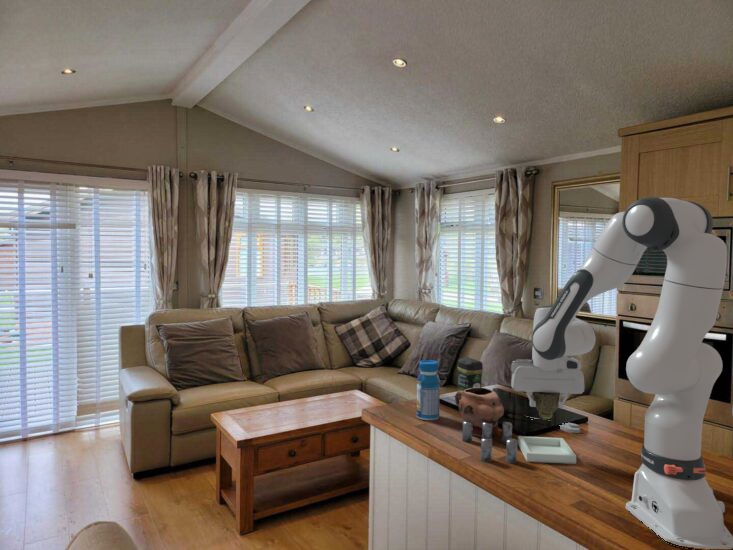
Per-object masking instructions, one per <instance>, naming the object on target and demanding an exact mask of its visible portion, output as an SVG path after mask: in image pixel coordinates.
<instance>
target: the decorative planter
mask: <svg viewBox="0 0 733 550" xmlns="http://www.w3.org/2000/svg"><path fill="white" fill-rule="evenodd" d="M460 396H462V398H461V400H460V402H459V398H460ZM454 398H455V404H456V405H457V406H458V411H459V413H460V415H461V417H462V422H463V421H464V420H469V421H472V422H473V430H472V436H477V437H482V422H483V421H489V422H492V437H493V436H496V435H497V433H498V430H499V419H501V418H502V417H503V416H504V413H505V408H504V406H503V404H502V403H501V402H502V401H501V399H500V397H499V395H498V392H495V391H493V390H492V389H488V388H485V387H482V388H469V389H465V390H464V391H458V390H457V391H456V393H455V396H454Z"/></svg>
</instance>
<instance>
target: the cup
mask: <svg viewBox="0 0 733 550" xmlns="http://www.w3.org/2000/svg"><path fill="white" fill-rule="evenodd" d="M532 395H533V399H534V400H535V402H536V407H535V409H536V410H537V412H538V415H539V417H540V418H541V419H544V420H549V419H551V418H552V417H553V413H555V412H556V411H557V409H558V403H559V400H560V397H561V396H560V395H561V393H549V392H532Z"/></svg>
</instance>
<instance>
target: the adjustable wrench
mask: <svg viewBox="0 0 733 550" xmlns="http://www.w3.org/2000/svg"><path fill="white" fill-rule="evenodd" d="M525 416H526V415H525ZM526 417H528V416H526ZM529 417H530V418H534V419H539V418H537V417H531V416H529ZM531 420H533V419H531ZM559 426H560V429H559V430H561V431H564V432H566V433H571V434H580V433H581V428H580V425H579V424H576V423H574V422H573V423H572V422H568V423H565V424H564V423H562V425H559Z"/></svg>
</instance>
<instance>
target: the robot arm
mask: <svg viewBox="0 0 733 550" xmlns="http://www.w3.org/2000/svg"><path fill="white" fill-rule="evenodd" d="M713 219H714V218H713V215H712V214H711V212H710V211H709V210H708V209H707V208H706V207H705V206H703V205H702V204H699V203H697V202H694V201H686V200H683V199H682V200H681V199H678V198H674V197H656V196H650V197H643V198H640V199H637V200H635V201H634V202H632V203H631V204H630V205H629V206H627V208H626V209H625V211H620V212H617V213H615V214H614V215H613V216H612V217H610V219H609V220H608V222H607V223H606V224H605V226H604V227H603V228H602V231H601V232H600V233H599V235H598V237H597V238H596V241H595V243H594V244H593V247H592V249H591V250H590V253H589V254H588V256H587V258H585V260H584V262H583V263H582V265H581V266H580V267H579V268H578V269H577V271H575V272H574V273H573V274H572V275H571V277H570V278H569V279H568V281H567V282H566V284H564V287H563V288H562V290H561V291H560V293H559V295H558V296H557V298H556V300H555V301H554V303H553V304H552V305H543V306H540V307H538V308H536V309H535V313H534V314H533V315H534V316H533V325H532V334H531V344H532V351H531V352H532V355H531V356H532V357H531V359H527V358H526V359H522V358H517V359H516V360H513V361H512V362H511V364H510V371H511V373H512V374H511V379H510V381H511V382H510V386H511V388H512V390H514V391H515V392H525V394H526V396H527V398H528V400H529V406H530V407H531V408H532V407H533V408H536V402H535V400H534V398H532V396H533V392H549V393H560V395H561V396H560V397H561V398H559V403H558V407H557V409H564V405H565V402H566V401H567V399H568V398H569V394H571V395H572V394H573V395H574V394H575V395H578V394H579V395H582V394H583V392H585V376H584V373H583V371H582V370H581V369H582V363H581V362H580V361H579V360H578V359H576V358H575V357H573V356H579V355H585V354H588V353H590V352H592V351H593V349H594V348H595V345H596V343H597V334H596V331H595V328H594V327H593V326H592V325H591V324H590V322H588V321H586V320H582V319H580V318H577V315H578V314H579V312H580V310H581V309H582V307H583V306H584V305H585V304H586V303H587V302H588V301H590V300H591V299H593V298H595V297H597V296H599V295H601V294H604V293H607V292H610V291H612V290H615V289H617V288H620V287H622V286H623V285H624V284H625V283H626V282H627V281H628V280H629V279H630V277H632V275H633V273H634V272H635V271H636V269H637V266H638V265H639V262H640V261H641V258H642V257H643V254H644V253H645V251H646V250H647V249H648V248H649V249H650V250H652V251H653V252H656V253H657V252H662V251H663V252H664V254H665V256H666V261H667V263H666V269H665V274H664V277H663V278H664V279H663V284H662V288H661V292H660V297H659V301H658V305H657V309H656V312H655V315H654V318H653V320H652V322H651V325H650V326H649V328H648V330H647V332H646V334H645V336H644V338H643V340H642V341H641V343H640V345H639V346H638V347H637V348H636V350H634V352H632V354H631V355H630V356H629V357H628V359H627V361H626V367H625V371H626V376H627V379H628V380H629V381H630V383H631V385H632V386H633V387H634V388H635V389H636V390H638V391H640V392H642V393H645V394H648V395H649V394H650V395H655V396H654V398H653V400H652V402H651V403H650V405H649V406H648V407H647V408H646V411H645V415H644V434H643V437H644V438H643V439H644V440H643V444H642V445H641V450H640V455H641V457H640V461H641V465H640V466H639V469H637V471H635V473H634V478H633V485H632V494H631V500H630V501H629V500H628V501H627V502H626V503H625V509H626V510H627V511H630V513H631V514H632V515H633V516H634V517H635V518H636V519H638V520H639V521H640V522H641V521H642V522H643V524H644V525H645V526H646V527H647V528H648V527H649V528H648V529H649V530H651V529H652V530H653V531H654V532H655V533H656V534H655V533H654V532H653V531H652V530H651V531H652V532H653V533H654V534H655V535H657V536H658V535H659V536H660V537H661V538H663V539H664V540H665V541H668V542H671V543H673V544H676V545H679V546H685V547H686V546H687V547H694V548H705V549H732V548H733V534H731V532H730V531H729V529H728V528H727V526H726V525H725V524H724V514H723V513H725V512H726V505H725V504H724V502H723V501H720V500H717V499H716V496H715V495H714V489H713V488H712V487H710V486H709V483H708V481H707V479H706V478H705V476H706V474H707V473H706V470H707V468H705V466H706V465H705V462H704V458H703V456H702V454H701V453H702V434H703V423H704V418H705V413H706V410H707V407H708V403H709V400H710V397H711V394H712V390H713V387H714V385H715V383H716V381H717V379H718V378H719V377H720V375H721V373H722V372H723V367H724V366H723V365H724V364H723V360H722V357H721V355H720V353H719V352H718V350H716V349H715V348H714V347H713V346H711V345H710V344H708V343H704V342H703V340H704V338H705V337H706V335H707V334H708V332H710V330H711V329H712V328H713V327H714V326H715V323H716V321H717V317H718V313H719V307H720V304H721V299H722V295H723V291H724V286H725V282H726V281H725V280H726V275H727V264H728V260H727V259H728V253H727V252H728V251H727V250H728V249H727V245H726V243H725V242H724V240H722V238H720V237H719V236H716V235H715V234H712V230H713V227H714V220H713ZM642 522H641V523H642ZM659 536H658V537H659ZM660 537H659V538H660ZM661 538H660V539H661ZM663 539H662V540H663ZM664 540H663V541H664ZM665 541H664V542H665ZM723 544H725V545H723ZM679 546H678V547H679Z"/></svg>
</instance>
